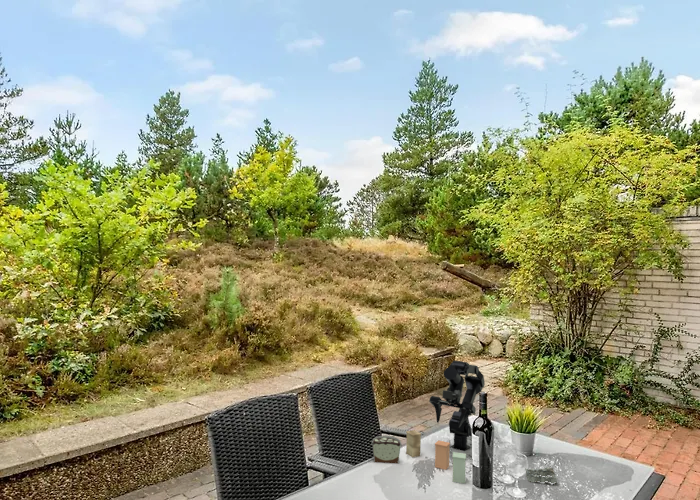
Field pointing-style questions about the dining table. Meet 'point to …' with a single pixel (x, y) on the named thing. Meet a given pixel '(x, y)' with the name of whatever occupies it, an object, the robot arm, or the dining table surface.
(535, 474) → the egg carton
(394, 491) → the dining table surface
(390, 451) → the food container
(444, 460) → the orange rectangular block
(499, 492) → the dining table surface
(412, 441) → the oak key
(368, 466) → the dining table surface
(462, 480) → the sage key
